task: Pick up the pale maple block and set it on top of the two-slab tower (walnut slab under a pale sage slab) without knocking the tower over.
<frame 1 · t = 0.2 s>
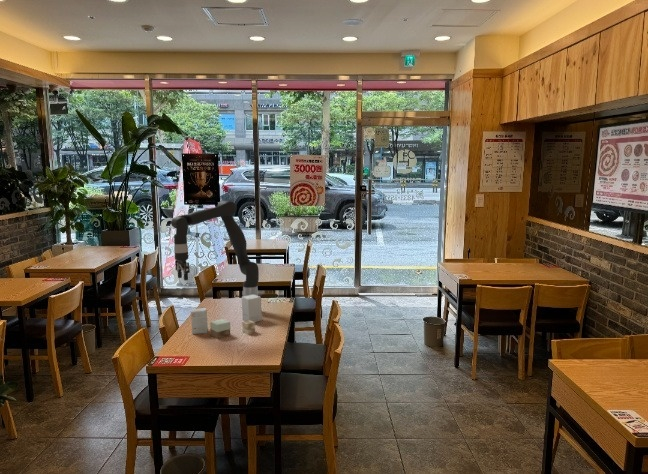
hand: (183, 279, 263), 29 cm above the table, fingers open, 8 cm apart
walnut slab: (220, 335, 252), on the table, touching sage slab
maple block: (249, 332, 256), on the table
sage slab: (220, 328, 251), point 4 cm above the table, touching walnut slab
small box: (200, 332, 258), on the table
supplement box: (252, 320, 278), on the table
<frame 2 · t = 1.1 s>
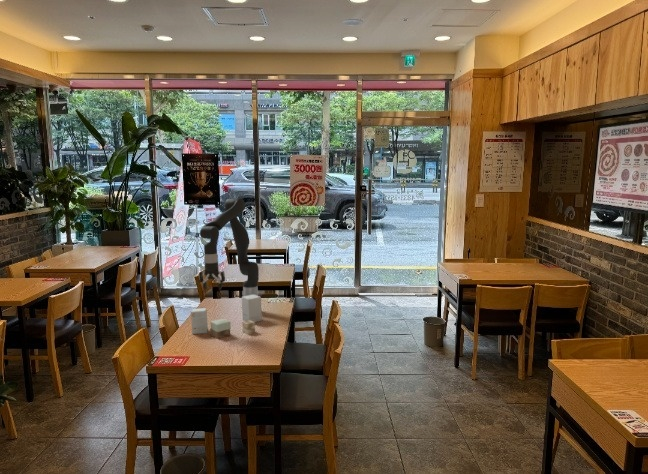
hand: (212, 289, 259), 24 cm above the table, fingers open, 8 cm apart
nothing on the table moved.
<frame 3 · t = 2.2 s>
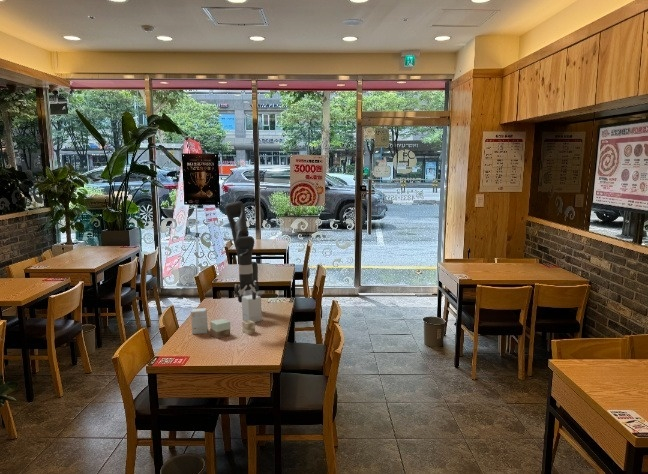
hand: (247, 300, 253), 18 cm above the table, fingers open, 8 cm apart
nothing on the table moved.
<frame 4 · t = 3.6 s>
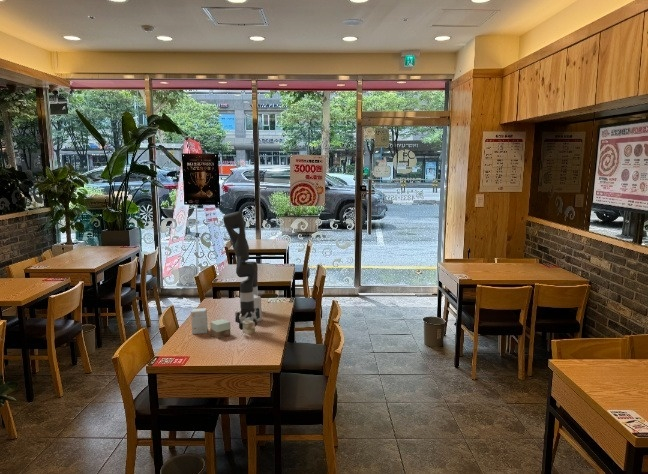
hand: (248, 327, 255), 3 cm above the table, fingers open, 8 cm apart
nothing on the table moved.
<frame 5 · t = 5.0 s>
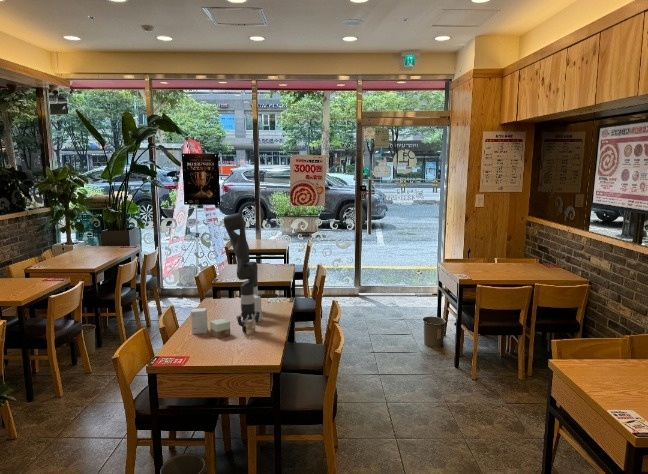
hand: (248, 331, 255), 1 cm above the table, fingers closed on maple block, 5 cm apart
maple block: (249, 332, 256), on the table, touching gripper
everything else where it was.
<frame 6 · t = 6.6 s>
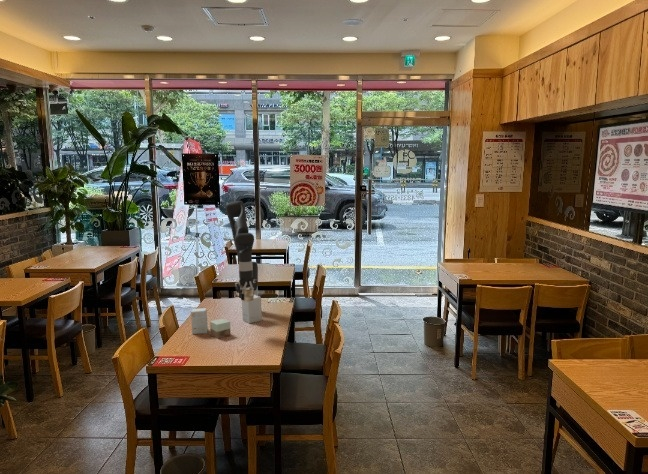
hand: (247, 299, 253), 19 cm above the table, fingers closed on maple block, 5 cm apart
maple block: (247, 300, 253), point 19 cm above the table, touching gripper
everything else where it was.
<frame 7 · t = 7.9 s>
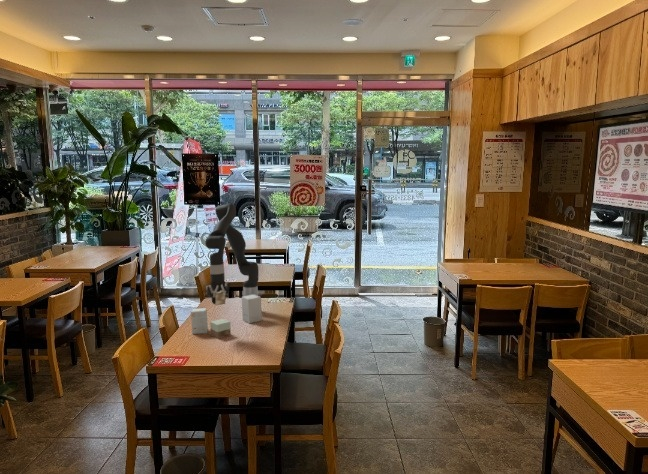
hand: (218, 302, 250), 19 cm above the table, fingers closed on maple block, 5 cm apart
maple block: (218, 303, 250), point 18 cm above the table, touching gripper
everything else where it was.
when the fingers open (10 cm above the table, at t = 10.5 s): maple block drops 1 cm, resting on sage slab.
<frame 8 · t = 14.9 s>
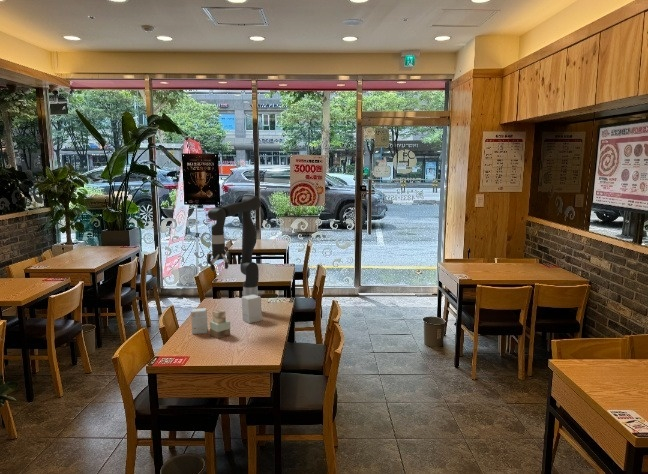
hand: (219, 269, 267), 33 cm above the table, fingers open, 8 cm apart
maple block: (219, 321, 251), point 8 cm above the table, touching sage slab
sage slab: (220, 328, 252), point 4 cm above the table, touching maple block, walnut slab
everything else where it was.
at the end: maple block 0.4 cm from the sage slab (horizontally); maple block point 7.6 cm above the table; sage slab tilted 0° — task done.
